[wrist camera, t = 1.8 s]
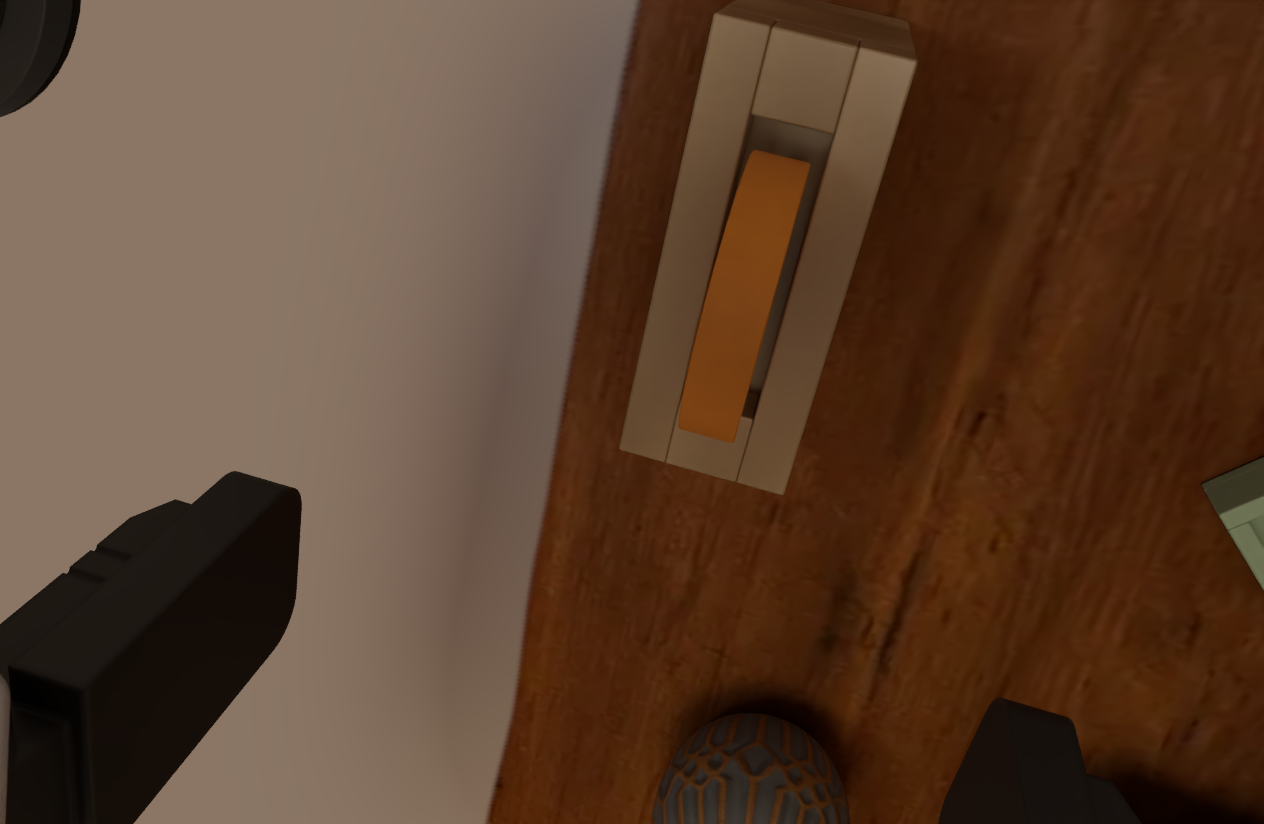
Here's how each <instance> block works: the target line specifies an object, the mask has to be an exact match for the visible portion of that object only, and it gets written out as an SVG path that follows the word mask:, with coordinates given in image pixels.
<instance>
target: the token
mask: <svg viewBox="0 0 1264 824" xmlns="http://www.w3.org/2000/svg"><path fill="white" fill-rule="evenodd" d="M810 166H811V165H810V163H808V162H804V161H800V160H796V159H792V158H788V157H784V156H780V155H776V154H772V153H767V152H763V151H759V150H753V152H752V153H751V154H750V157H749V159H748V161H747V164H746V166H745V169H744V171H743V174H742V177H741V180H740V183H739V186H738V189H737V192H736V195H735V198H734V201H733V204H732V208H731V211H730V214H729V217H728V221H727V224H726V227H725V231H724V234H723V238H722V241H721V244H720V248H719V251H718V255H717V259H716V262H715V266H714V269H713V273H712V277H711V280H710V284H709V288H708V291H707V295H706V299H705V303H704V306H703V310H702V314H701V318H700V322H699V326H698V330H697V334H696V338H695V342H694V346H693V350H692V355H691V359H690V363H689V367H688V372H687V376H686V381H685V386H684V390H683V395H682V401H681V406H680V412H679V421H678V425H679V428H680V429H681V430H685V431H689V432H692V433H696V434H700V435H703V436H707V437H710V438H714V439H718V440H721V441H725V442H728V443H734V441H735V437H736V434H737V430H738V426H739V423H740V419H741V416H742V412H743V408H744V405H745V401H746V398H747V394H748V390H749V387H750V383H751V379H752V376H753V372H754V369H755V365H756V361H757V358H758V354H759V351H760V347H761V343H762V340H763V336H764V333H765V329H766V325H767V322H768V318H769V315H770V311H771V307H772V304H773V300H774V296H775V293H776V289H777V286H778V282H779V278H780V275H781V271H782V268H783V264H784V260H785V257H786V253H787V249H788V246H789V242H790V239H791V235H792V231H793V228H794V224H795V221H796V217H797V213H798V210H799V206H800V202H801V199H802V195H803V192H804V188H805V184H806V181H807V177H808V174H809V170H810Z"/></svg>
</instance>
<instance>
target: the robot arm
mask: <svg viewBox="0 0 1264 824" xmlns="http://www.w3.org/2000/svg"><path fill="white" fill-rule="evenodd" d="M5 4H6V0H0V26H1V22H2V19H3V14H4V9H5ZM301 510H302V502H301V496H300V493H299V492H298V490H297V489H295V488H292V487H288V486H285V485H282V484H278V483H275V482H271V481H268V480H265V479H261V478H257V477H254V476H251V475H248V474H244V473H241V472H237V471H233V472H230V473H228V474H226V475H225V476H224V477H222V478H221V479H220V480H219V481H218V482H217V483H216V484H215V485H213V486H212V487H211V488H210V489H209V490H208V491H207V492H205V493H204V494H203V495H202V496H201V497H200V498H199V499H197V500H196V501H195V502H194V503H193V504H189V503H185V502H182V501H179V500H173V501H170V502H168V503H165V504H163V505H160V506H158V507H155V508H153V509H151V510H148V511H146V512H143V513H141V514H138V515H136V516H133V517H131V518H129V519H128V520H127V521H125V522H124V523H123V524H122V525H121V526H119V527H118V528H117V529H116V530H114V531H113V532H112V533H111V534H110V535H108V536H107V537H106V538H105V539H104V540H102V541H101V542H100V543H99V544H98V545H97V548H96V550H95V551H91V550H90V551H89V552H88V553H86V554H85V555H84V556H83V557H82V558H80V559H79V560H78V561H77V562H75V563H74V564H73V565H72V566H71V567H70V570H69V572H68V573H67V574H65V573H62V574H61V575H60V576H58V577H57V578H56V579H55V580H53V581H52V582H51V583H50V584H49V585H48V586H46V587H45V588H44V589H43V590H41V591H40V592H39V593H38V594H36V595H35V596H34V597H33V598H32V599H30V600H29V601H28V602H27V603H25V604H24V605H23V606H22V607H21V608H19V609H18V610H17V611H16V612H15V613H13V614H12V615H11V616H10V617H8V618H7V619H6V620H5V621H3V622H2V623H1V624H0V824H133V823H134V822H135V821H136V820H137V819H138V817H139V816H140V815H141V814H142V812H143V811H144V810H145V809H146V807H147V806H148V805H149V804H150V803H151V801H152V800H153V799H154V798H155V796H156V795H157V794H158V793H159V791H160V790H161V789H162V788H163V786H164V785H165V784H166V783H167V781H168V780H169V779H170V778H171V777H172V775H173V774H174V773H175V772H176V770H177V769H178V768H179V766H180V765H181V764H182V763H183V762H184V760H185V759H186V758H187V757H188V756H189V754H190V753H191V752H192V750H193V749H194V748H195V747H196V746H197V744H198V743H199V742H200V741H201V739H202V738H203V737H204V736H205V734H206V733H207V732H208V730H210V728H211V727H212V726H213V725H214V723H215V722H216V721H217V720H218V718H219V717H220V716H221V715H222V713H223V712H224V711H225V710H226V708H227V707H228V706H229V705H230V704H231V702H232V701H233V700H234V699H235V697H236V696H237V695H238V694H239V692H240V691H241V690H242V689H243V687H244V686H245V685H246V684H247V682H248V681H249V680H250V679H251V677H252V676H253V675H254V674H255V672H256V671H257V670H258V669H259V667H260V666H261V665H262V664H263V663H264V662H265V660H266V659H267V658H268V657H269V655H270V654H271V653H272V652H273V650H274V649H275V647H276V646H277V645H278V643H279V642H280V640H281V638H282V636H283V635H284V633H285V630H286V628H287V626H288V623H289V621H290V618H291V615H292V612H293V608H294V604H295V599H296V590H297V573H298V557H299V542H300V525H301ZM938 824H1142V823H1141V822H1140V820H1139V819H1138V817H1137V816H1136V815H1135V813H1134V812H1133V810H1132V809H1131V807H1130V806H1129V805H1128V803H1127V802H1126V800H1125V799H1124V798H1123V796H1122V795H1121V793H1120V792H1119V790H1118V789H1117V788H1116V786H1115V785H1114V783H1113V782H1112V781H1111V780H1108V779H1104V778H1101V777H1098V776H1094V775H1091V774H1087V773H1086V770H1085V766H1084V762H1083V758H1082V754H1081V750H1080V746H1079V742H1078V738H1077V734H1076V730H1075V727H1074V724H1073V722H1072V720H1070V719H1069V718H1068V717H1065V716H1062V715H1058V714H1055V713H1051V712H1048V711H1045V710H1041V709H1038V708H1034V707H1031V706H1028V705H1024V704H1021V703H1017V702H1014V701H1011V700H1007V699H1004V698H996V699H995V700H994V701H993V702H992V703H991V704H990V706H989V707H988V709H987V711H986V713H985V715H984V717H983V719H982V721H981V724H980V726H979V728H978V730H977V732H976V734H975V736H974V738H973V740H972V742H971V745H970V747H969V749H968V751H967V753H966V755H965V757H964V759H963V761H962V763H961V766H960V768H959V770H958V772H957V774H956V776H955V778H954V780H953V782H952V784H951V787H950V789H949V791H948V793H947V795H946V798H945V800H944V803H943V806H942V810H941V814H940V818H939V823H938Z"/></svg>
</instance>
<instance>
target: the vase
mask: <svg viewBox="0 0 1264 824" xmlns="http://www.w3.org/2000/svg"><path fill="white" fill-rule="evenodd" d="M651 824H850V817H849V807H848V802H847V798H846V794H845V790H844V787H843V784H842V782H841V779H840V777H839V774H838V772H837V770H836V768H835V766H834V764H833V762H832V761H831V759H830V757H829V756H828V754H827V753H826V751H825V750H824V749H823V748H822V747H821V746H820V744H819V743H818V742H816V741H815V740H814V739H813V738H812V737H811V736H810V735H809V734H807V733H806V732H805V731H804V730H802V729H801V728H799V727H798V726H796V725H794V724H792V723H790V722H788V721H786V720H783V719H781V718H778V717H775V716H771V715H766V714H759V713H739V714H733V715H728V716H725V717H722V718H719V719H717V720H714V721H712V722H710V723H708V724H706V725H704V726H702V727H701V728H699V729H698V730H697V731H696V732H695V733H693V734H692V735H691V736H690V737H689V738H688V739H687V740H686V741H685V742H684V743H683V744H682V746H681V747H680V748H679V749H678V751H677V752H676V753H675V755H674V756H673V758H672V759H671V761H670V763H669V764H668V766H667V768H666V770H665V772H664V774H663V777H662V779H661V782H660V785H659V788H658V791H657V795H656V798H655V802H654V807H653V812H652V820H651Z"/></svg>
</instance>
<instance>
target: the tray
mask: <svg viewBox="0 0 1264 824" xmlns="http://www.w3.org/2000/svg"><path fill="white" fill-rule="evenodd" d="M1202 487H1203V489H1204V490H1205V492H1206V494H1207V496H1208V498H1209V499H1210V501H1211V503H1212V505H1213V507H1214V508H1215V510H1216V512H1217V514H1218V515H1219V517H1220V519H1221V521H1222V522H1223V524H1224V525H1225V527H1226V529H1227V530H1228V532H1229V534H1230V535H1231V537H1232V539H1233V540H1234V542H1235V544H1236V545H1237V547H1238V549H1239V550H1240V552H1241V554H1242V555H1243V557H1244V559H1245V560H1246V562H1247V564H1248V565H1249V567H1250V569H1251V570H1252V572H1253V574H1254V575H1255V577H1256V579H1257V580H1258V582H1259V584H1260V585H1261V587H1262V589H1263V590H1264V457H1262V458H1260V459H1258V460H1256V461H1253V462H1251V463H1249V464H1246V465H1244V466H1242V467H1240V468H1237V469H1235V470H1233V471H1230V472H1228V473H1226V474H1224V475H1221V476H1219V477H1217V478H1214V479H1212V480H1210V481H1208V482H1205V483H1203V484H1202Z"/></svg>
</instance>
